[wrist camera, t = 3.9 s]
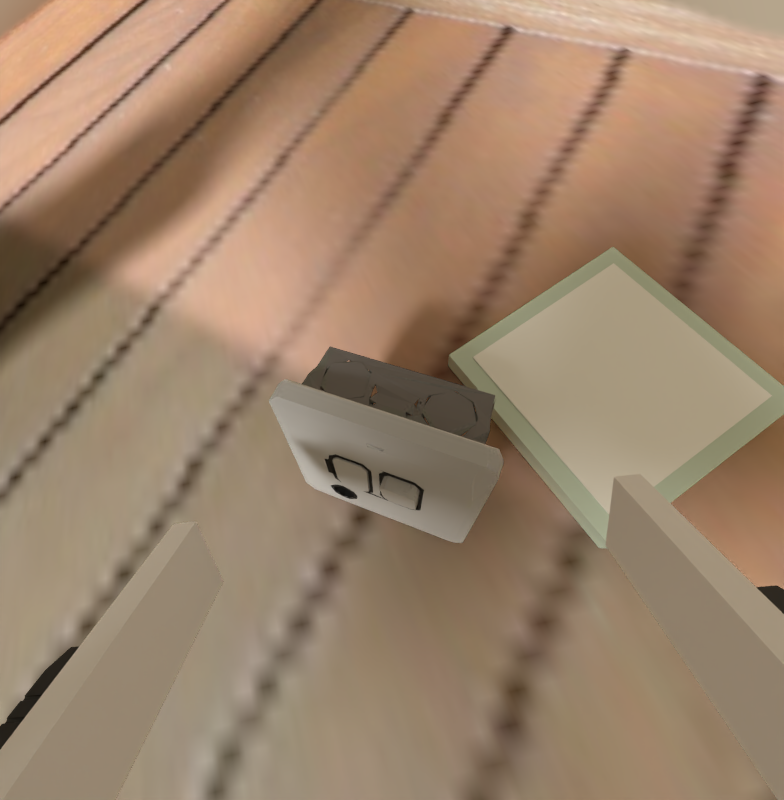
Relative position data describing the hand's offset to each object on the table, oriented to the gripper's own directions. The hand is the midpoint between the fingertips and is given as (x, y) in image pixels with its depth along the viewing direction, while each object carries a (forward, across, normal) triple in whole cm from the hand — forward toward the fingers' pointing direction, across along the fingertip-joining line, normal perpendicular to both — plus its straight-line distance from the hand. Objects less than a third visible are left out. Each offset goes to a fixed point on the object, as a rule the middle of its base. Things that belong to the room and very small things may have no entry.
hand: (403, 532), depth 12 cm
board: (+12, +12, -1) cm, 17 cm away
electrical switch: (+9, -1, -4) cm, 10 cm away
